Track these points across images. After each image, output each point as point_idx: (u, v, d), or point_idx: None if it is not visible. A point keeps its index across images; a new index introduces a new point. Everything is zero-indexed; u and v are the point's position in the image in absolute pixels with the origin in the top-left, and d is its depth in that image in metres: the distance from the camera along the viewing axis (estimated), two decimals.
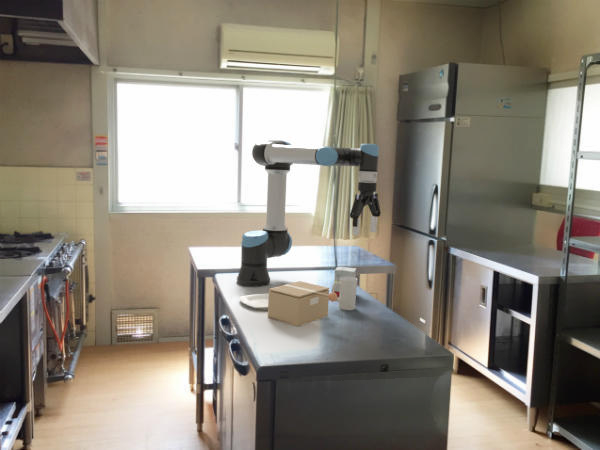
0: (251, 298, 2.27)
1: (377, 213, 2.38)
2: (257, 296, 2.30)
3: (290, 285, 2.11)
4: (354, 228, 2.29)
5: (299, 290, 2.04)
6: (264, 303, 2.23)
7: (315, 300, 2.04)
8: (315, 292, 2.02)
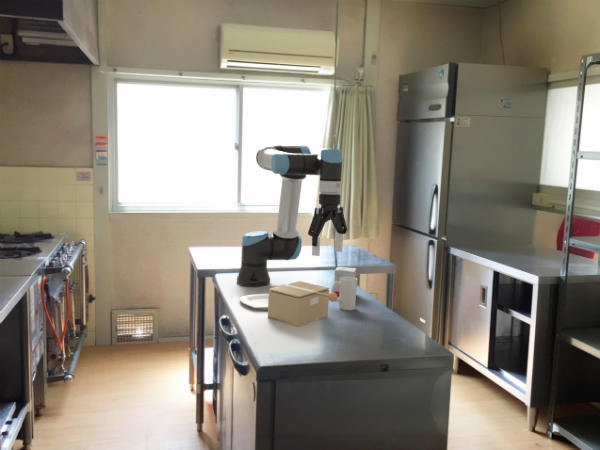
0: (251, 298, 2.27)
1: (343, 230, 2.04)
2: (257, 296, 2.30)
3: (290, 285, 2.11)
4: (314, 248, 1.94)
5: (299, 290, 2.04)
6: (264, 303, 2.23)
7: (315, 300, 2.04)
8: (315, 292, 2.02)
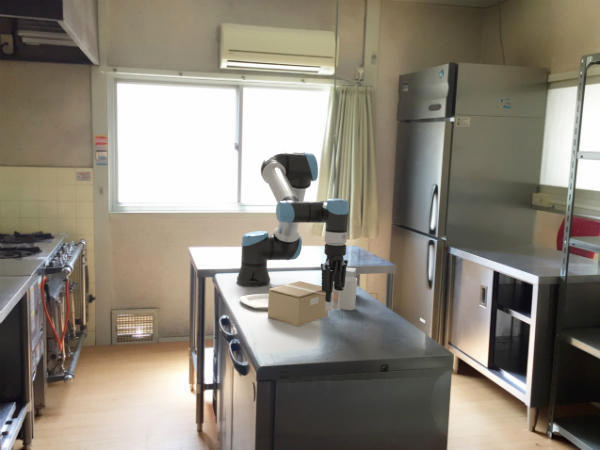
0: (251, 298, 2.27)
1: (341, 286, 1.99)
2: (257, 296, 2.30)
3: (290, 285, 2.11)
4: (327, 303, 1.97)
5: (299, 290, 2.04)
6: (264, 303, 2.23)
7: (315, 300, 2.04)
8: (315, 292, 2.02)
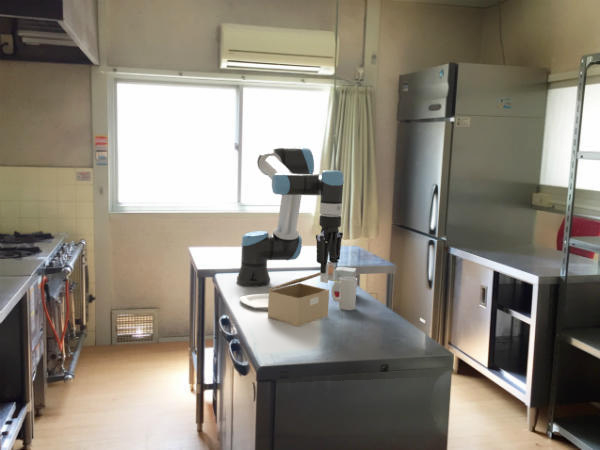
0: (251, 298, 2.27)
1: (336, 258, 2.00)
2: (257, 296, 2.30)
3: None
4: (322, 275, 1.97)
5: None
6: (264, 303, 2.23)
7: (315, 300, 2.04)
8: None
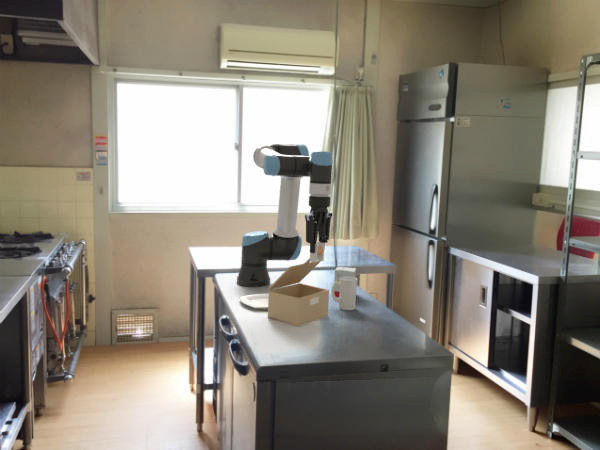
0: (251, 298, 2.27)
1: (325, 238, 2.02)
2: (257, 296, 2.30)
3: None
4: (312, 254, 2.00)
5: None
6: (264, 303, 2.23)
7: (315, 300, 2.04)
8: (305, 262, 2.04)
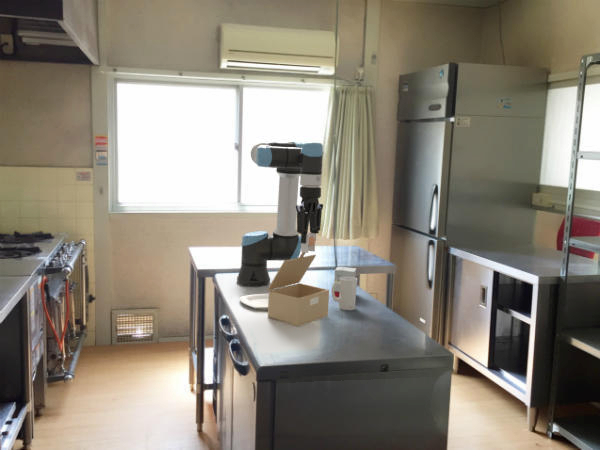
0: (251, 298, 2.27)
1: (316, 229, 2.04)
2: (257, 296, 2.30)
3: None
4: (303, 245, 2.02)
5: None
6: (264, 303, 2.23)
7: (315, 300, 2.04)
8: (300, 256, 2.05)
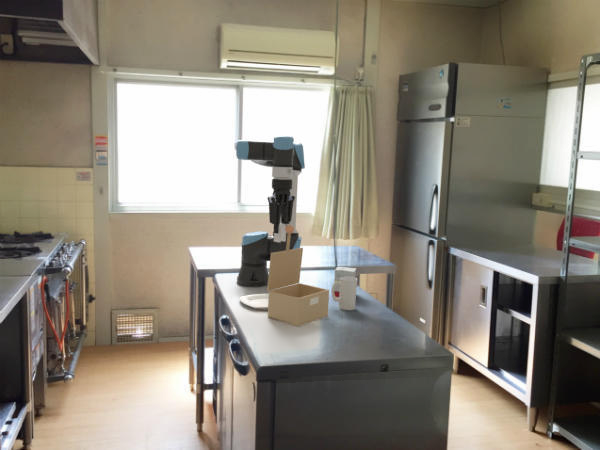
0: (251, 298, 2.28)
1: (287, 220, 2.12)
2: (257, 296, 2.30)
3: None
4: (275, 235, 2.10)
5: None
6: (264, 303, 2.23)
7: (315, 300, 2.04)
8: (286, 248, 2.09)
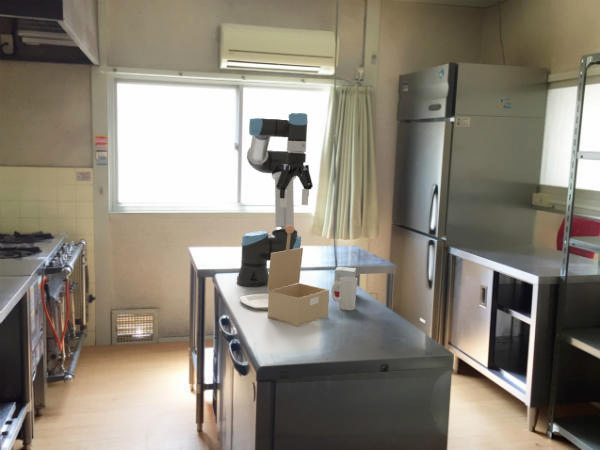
0: (251, 298, 2.28)
1: (308, 186, 2.31)
2: (257, 296, 2.30)
3: None
4: (282, 200, 2.21)
5: None
6: (264, 303, 2.23)
7: (315, 300, 2.04)
8: (286, 248, 2.09)
